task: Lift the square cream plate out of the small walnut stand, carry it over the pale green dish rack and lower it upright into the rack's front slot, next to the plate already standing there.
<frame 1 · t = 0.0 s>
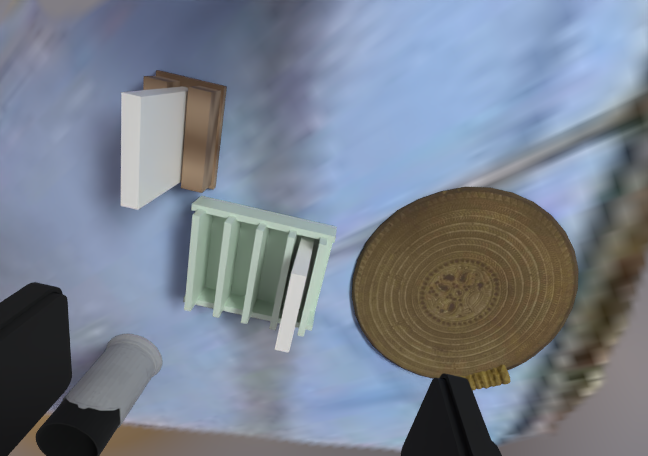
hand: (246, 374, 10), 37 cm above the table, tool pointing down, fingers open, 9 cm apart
decorative disc: (460, 292, 51), on the table
plate: (186, 133, 43), point 1 cm above the table, touching stand
rack: (262, 256, 50), on the table
glass holder: (133, 368, 59), on the table
stand: (189, 132, 44), on the table
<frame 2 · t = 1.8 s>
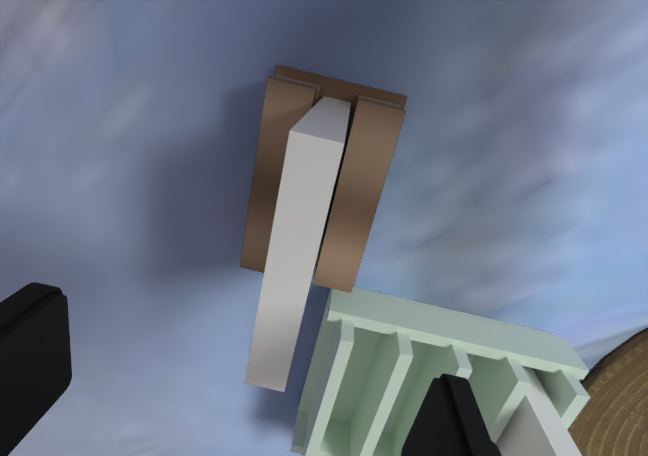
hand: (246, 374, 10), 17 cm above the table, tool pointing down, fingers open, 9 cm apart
plate: (319, 180, 24), point 1 cm above the table, touching stand
rack: (416, 372, 30), on the table
stand: (320, 177, 24), on the table
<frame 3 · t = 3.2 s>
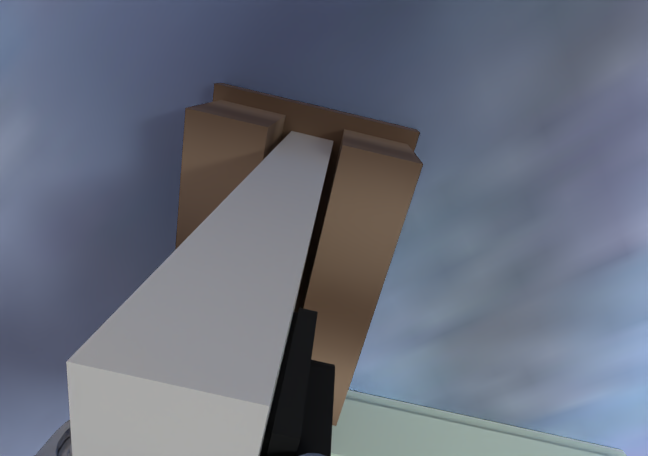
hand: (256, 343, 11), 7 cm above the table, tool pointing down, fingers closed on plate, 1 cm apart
plate: (288, 253, 16), point 1 cm above the table, touching gripper
stand: (290, 244, 17), on the table
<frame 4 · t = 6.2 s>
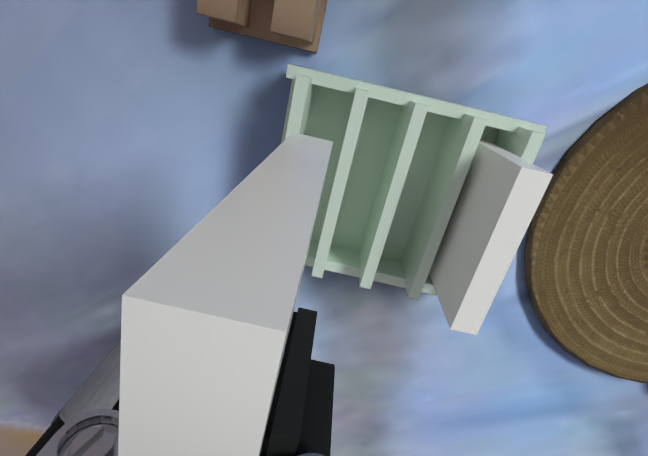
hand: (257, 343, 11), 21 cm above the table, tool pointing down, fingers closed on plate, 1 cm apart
plate: (289, 249, 17), point 15 cm above the table, touching gripper
rack: (383, 180, 30), on the table
glass holder: (161, 366, 40), on the table
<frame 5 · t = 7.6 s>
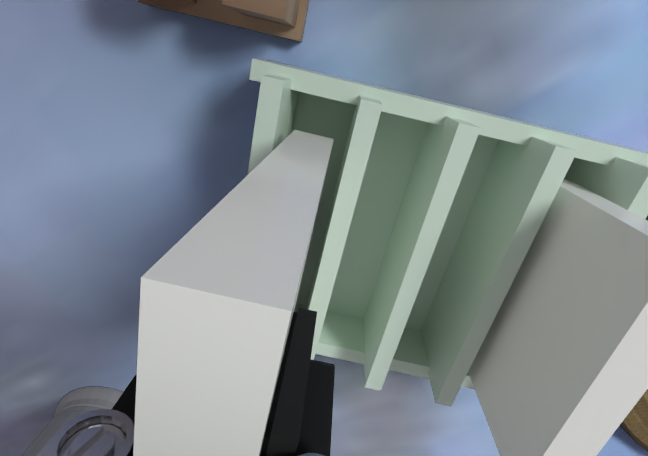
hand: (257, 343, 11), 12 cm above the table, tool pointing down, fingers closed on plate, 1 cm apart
plate: (291, 245, 17), point 5 cm above the table, touching gripper
rack: (397, 224, 22), on the table
glass holder: (109, 447, 31), on the table
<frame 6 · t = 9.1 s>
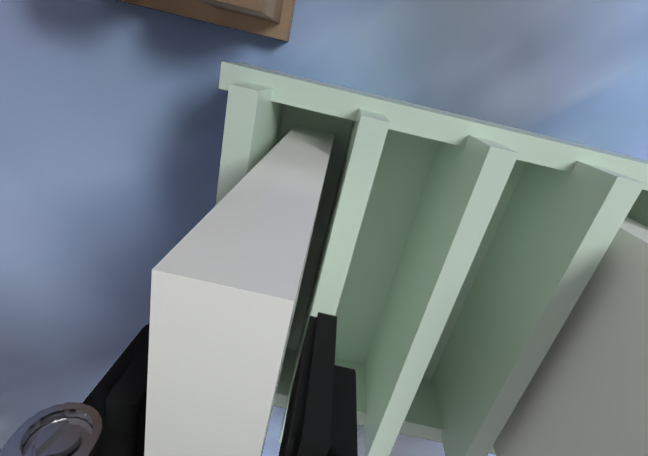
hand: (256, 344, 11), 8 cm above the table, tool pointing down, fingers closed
plate: (293, 238, 17), point 1 cm above the table, touching rack
rack: (403, 256, 18), on the table
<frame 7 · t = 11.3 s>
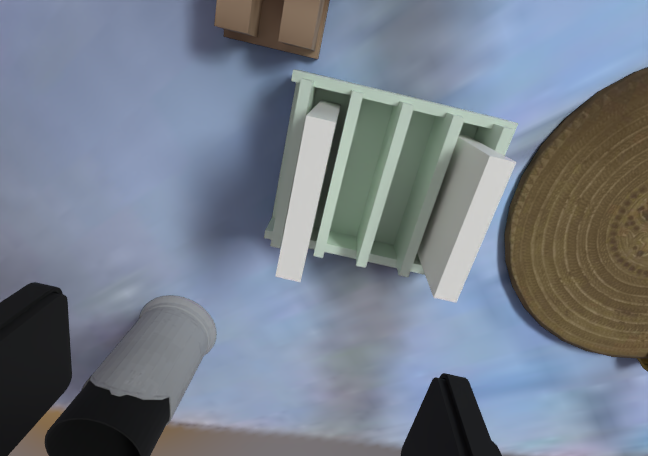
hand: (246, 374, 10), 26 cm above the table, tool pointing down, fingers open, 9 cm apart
plate: (318, 161, 33), point 1 cm above the table, touching rack
rack: (377, 173, 34), on the table
glass holder: (175, 346, 43), on the table
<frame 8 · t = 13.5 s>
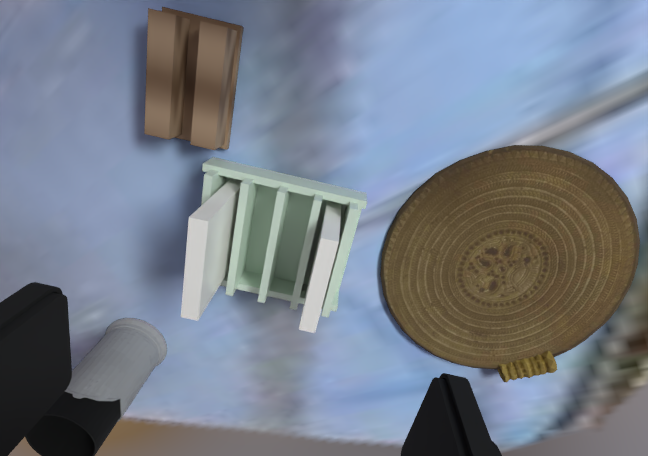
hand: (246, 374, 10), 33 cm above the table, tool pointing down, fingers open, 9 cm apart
decorative disc: (502, 269, 45), on the table
plate: (233, 220, 43), point 1 cm above the table, touching rack
rack: (280, 228, 44), on the table
glass holder: (134, 357, 54), on the table
stand: (199, 82, 39), on the table
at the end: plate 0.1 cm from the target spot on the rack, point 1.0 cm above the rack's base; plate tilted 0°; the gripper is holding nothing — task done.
